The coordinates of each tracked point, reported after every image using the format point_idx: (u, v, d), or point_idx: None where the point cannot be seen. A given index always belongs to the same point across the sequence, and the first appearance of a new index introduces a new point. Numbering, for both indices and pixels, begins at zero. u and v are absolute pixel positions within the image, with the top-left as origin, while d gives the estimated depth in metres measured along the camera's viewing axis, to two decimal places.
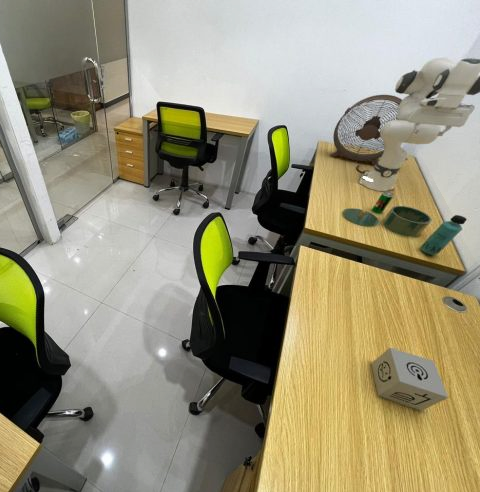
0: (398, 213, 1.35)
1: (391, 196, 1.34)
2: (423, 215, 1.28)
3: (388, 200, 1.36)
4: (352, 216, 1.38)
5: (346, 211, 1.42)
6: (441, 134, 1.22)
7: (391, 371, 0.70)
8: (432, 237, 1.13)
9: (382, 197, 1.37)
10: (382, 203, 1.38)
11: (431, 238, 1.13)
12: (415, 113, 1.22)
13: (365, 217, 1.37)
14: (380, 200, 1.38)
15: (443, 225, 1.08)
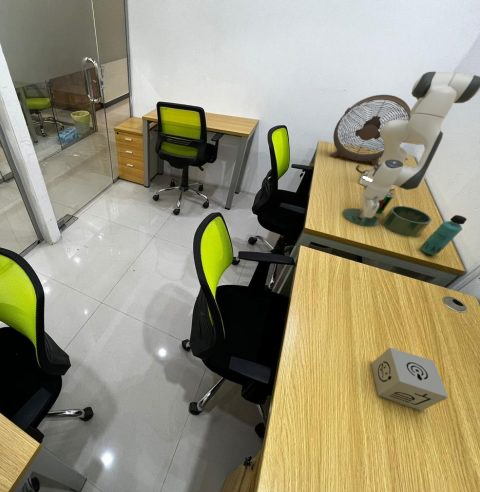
0: (398, 213, 1.35)
1: (391, 196, 1.34)
2: (423, 215, 1.28)
3: (388, 200, 1.36)
4: (352, 216, 1.38)
5: (346, 211, 1.42)
6: (360, 215, 1.37)
7: (391, 371, 0.70)
8: (432, 237, 1.13)
9: None
10: (382, 203, 1.38)
11: (431, 238, 1.13)
12: (362, 193, 1.39)
13: (365, 217, 1.37)
14: (380, 200, 1.38)
15: (443, 225, 1.08)
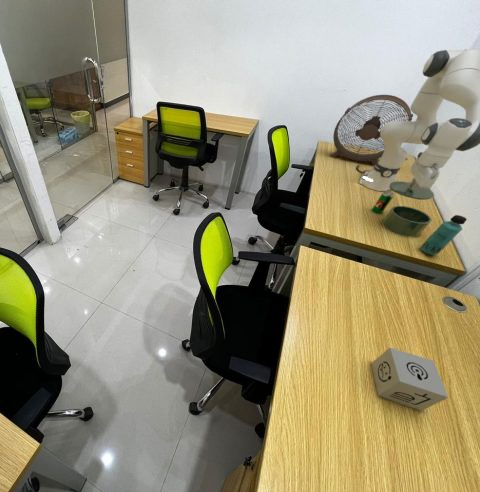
0: (398, 213, 1.35)
1: (391, 196, 1.34)
2: (423, 215, 1.28)
3: (388, 200, 1.36)
4: (402, 189, 1.21)
5: (393, 184, 1.25)
6: (411, 188, 1.19)
7: (391, 371, 0.70)
8: (432, 237, 1.13)
9: (382, 197, 1.37)
10: (382, 203, 1.38)
11: (431, 238, 1.13)
12: (414, 162, 1.22)
13: (417, 190, 1.20)
14: (380, 200, 1.38)
15: (443, 225, 1.08)
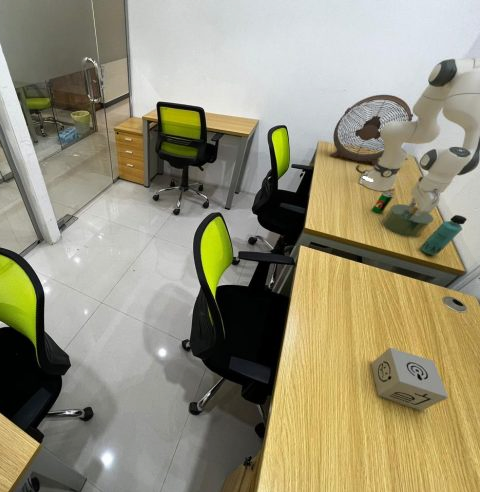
0: None
1: (391, 196, 1.34)
2: None
3: (388, 200, 1.36)
4: (402, 213, 1.26)
5: (394, 207, 1.30)
6: (414, 213, 1.22)
7: (391, 371, 0.70)
8: (432, 237, 1.13)
9: (382, 197, 1.37)
10: (382, 203, 1.38)
11: (431, 238, 1.13)
12: (415, 185, 1.27)
13: None
14: (380, 200, 1.38)
15: (443, 225, 1.08)
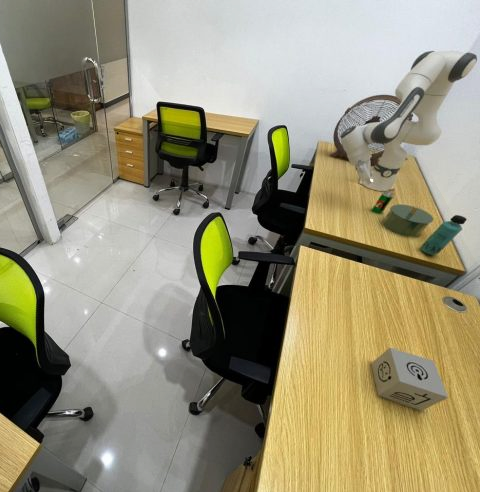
0: None
1: (391, 196, 1.34)
2: None
3: (388, 200, 1.36)
4: (402, 213, 1.26)
5: (394, 207, 1.30)
6: (367, 183, 1.34)
7: (391, 371, 0.70)
8: (432, 237, 1.13)
9: (382, 197, 1.37)
10: (382, 203, 1.38)
11: (431, 238, 1.13)
12: None
13: (417, 214, 1.25)
14: (380, 200, 1.38)
15: (443, 225, 1.08)
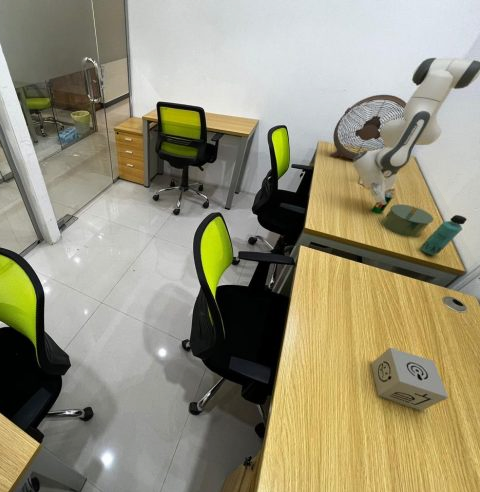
0: None
1: (391, 196, 1.34)
2: None
3: (388, 200, 1.36)
4: (402, 213, 1.26)
5: (394, 207, 1.30)
6: (382, 203, 1.37)
7: (391, 371, 0.70)
8: (432, 237, 1.13)
9: None
10: None
11: (431, 238, 1.13)
12: None
13: (417, 214, 1.25)
14: None
15: (443, 225, 1.08)
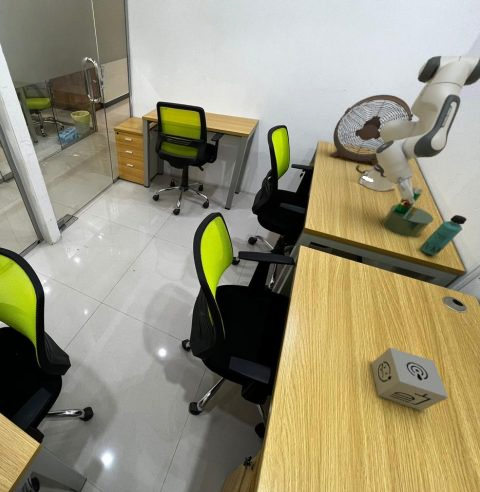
0: None
1: (419, 193, 1.19)
2: None
3: (416, 197, 1.20)
4: (402, 213, 1.26)
5: (394, 207, 1.30)
6: (409, 201, 1.20)
7: (391, 371, 0.70)
8: (432, 237, 1.13)
9: None
10: None
11: (431, 238, 1.13)
12: None
13: (417, 214, 1.25)
14: None
15: (443, 225, 1.08)
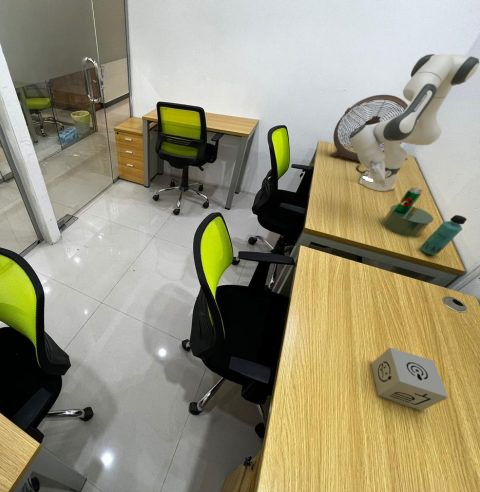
0: None
1: (419, 193, 1.19)
2: None
3: (416, 197, 1.20)
4: (402, 213, 1.26)
5: (394, 207, 1.30)
6: (381, 185, 1.23)
7: (391, 371, 0.70)
8: (432, 237, 1.13)
9: (409, 194, 1.21)
10: (408, 200, 1.22)
11: (431, 238, 1.13)
12: None
13: (417, 214, 1.25)
14: (406, 197, 1.22)
15: (443, 225, 1.08)
